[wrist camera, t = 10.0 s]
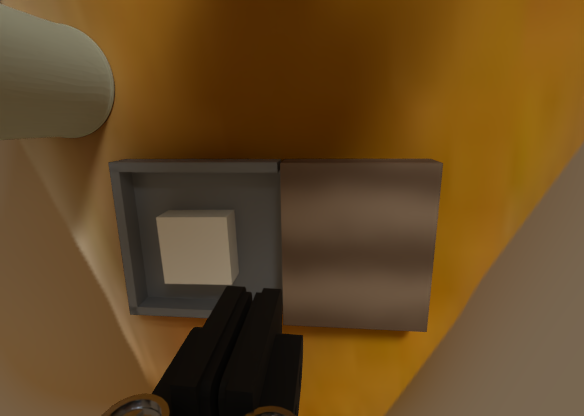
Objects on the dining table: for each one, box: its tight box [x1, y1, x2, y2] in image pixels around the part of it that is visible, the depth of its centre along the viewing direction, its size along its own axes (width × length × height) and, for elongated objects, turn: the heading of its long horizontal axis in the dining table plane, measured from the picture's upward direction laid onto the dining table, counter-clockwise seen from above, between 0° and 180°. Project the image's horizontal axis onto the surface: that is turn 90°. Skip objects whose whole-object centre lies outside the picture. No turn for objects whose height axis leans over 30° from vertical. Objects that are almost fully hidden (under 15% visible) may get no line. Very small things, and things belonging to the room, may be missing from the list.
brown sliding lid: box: [280, 159, 443, 332], centre depth 29 cm, size 14×12×3 cm
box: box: [108, 159, 283, 318], centre depth 30 cm, size 14×14×2 cm
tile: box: [156, 210, 239, 285], centre depth 30 cm, size 6×6×2 cm
